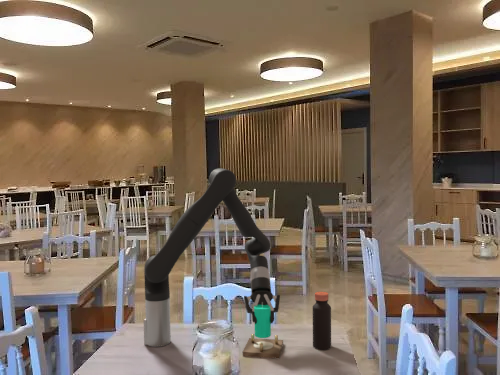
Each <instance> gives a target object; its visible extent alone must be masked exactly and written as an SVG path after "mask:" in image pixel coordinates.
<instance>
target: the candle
mask: <svg viewBox="0 0 500 375" xmlns="http://www.w3.org/2000/svg"><path fill="white" fill-rule="evenodd" d="M254 312H255V317H256V319H257V323H256V324H255V323H254V337H256V338H257V339H268V338H270V337H271V336H272V331H271V330H272V329H271V328H272V323H271V309H270V306H268V305H257V307H256V306H255V307H254Z"/></svg>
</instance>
